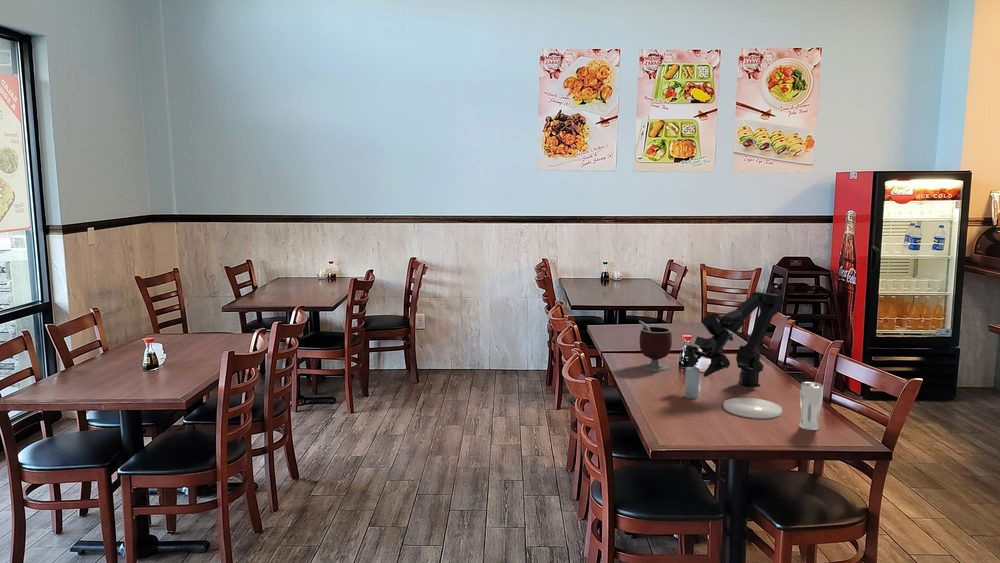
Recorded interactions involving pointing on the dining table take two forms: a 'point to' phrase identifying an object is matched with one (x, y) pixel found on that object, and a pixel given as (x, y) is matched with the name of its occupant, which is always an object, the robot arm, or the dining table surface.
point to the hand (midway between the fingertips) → (695, 373)
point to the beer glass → (810, 405)
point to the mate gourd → (655, 346)
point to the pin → (692, 382)
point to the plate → (752, 408)
